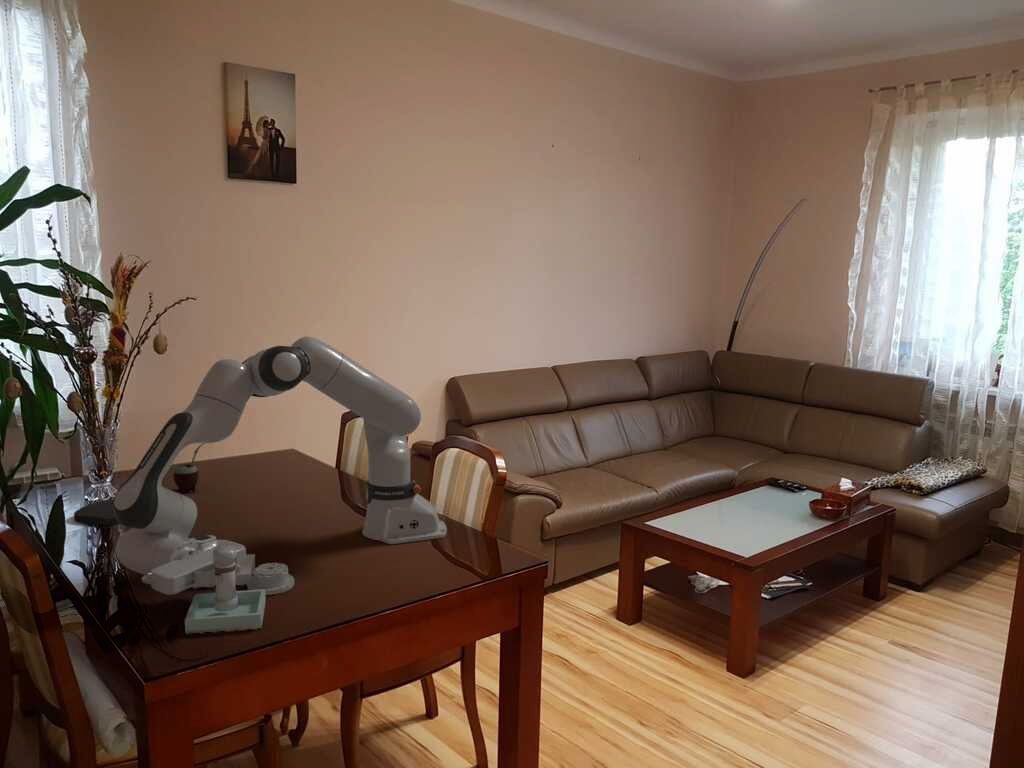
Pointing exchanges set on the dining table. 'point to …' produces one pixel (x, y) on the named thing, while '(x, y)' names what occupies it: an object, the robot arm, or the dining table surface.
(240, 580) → the grey square frame
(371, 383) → the robot arm
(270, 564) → the mechanical component
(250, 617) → the parts tray
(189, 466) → the mate gourd
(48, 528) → the dining table surface
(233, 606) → the grey peg
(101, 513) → the media streaming box
